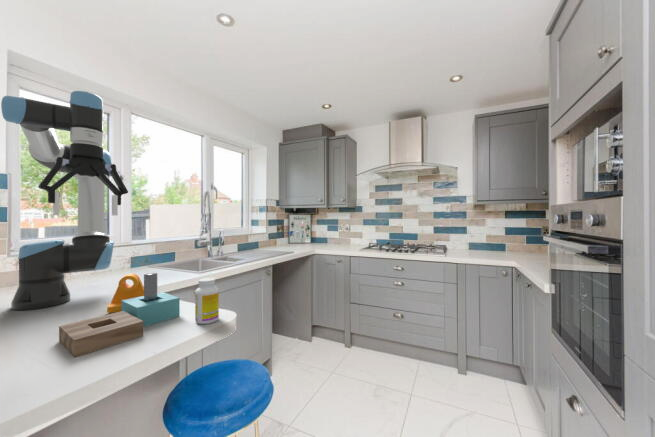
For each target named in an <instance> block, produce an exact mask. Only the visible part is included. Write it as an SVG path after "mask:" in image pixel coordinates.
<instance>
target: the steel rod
mask: <svg viewBox="0 0 655 437" xmlns="http://www.w3.org/2000/svg"><path fill="white" fill-rule="evenodd" d="M143 286H144V302H145V303H146V302H150V301H155V300H157V293H158V273H157V272H150V273H144V274H143Z"/></svg>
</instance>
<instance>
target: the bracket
mask: <svg viewBox="0 0 655 437" xmlns="http://www.w3.org/2000/svg"><path fill="white" fill-rule="evenodd" d="M127 280H130V281H131V282H133V284H131V285H130V284H128V283H127ZM141 296H144V283H143V282H142V281H141V278H140V276H139V275H137V274H136V273H128V274H125V275H124V276H123V277H122V278H121V279H120V280H119V281H118V286H117V289H116V290H115V293H114V295H113V297H112V300H111V302H110V303H109V304H108V305H107V307H106V312H107V314H112V313H117V312H121V300H126V299H131V298H136V297H141Z"/></svg>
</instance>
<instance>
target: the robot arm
mask: <svg viewBox="0 0 655 437" xmlns="http://www.w3.org/2000/svg"><path fill="white" fill-rule="evenodd" d="M69 97H70V98H69V99H70V100H69V106H66V105H60V104H56V103H51V102H45V101H40V100H35V99H31V98H26V97H23V96H21V97H18V96H13V95H4V96H3V97H2V98H1V104H0V105H1V106H0V107H1V115H2V117H3V119H4V120H5V122H8V123H13V124H15V125H19V126H20V128H21V131H22V132H23V134H24V136H25V138H26V140H27V142H28V144H29V145H28V152H29V154H30V156H31V157H32V158H33V160H34V161H35V162H37V163H38V164H41V165H42V166H44V167H46V168H48V169H49V171H48V173H47V174H46V175H45V177H44V178H43V179H42V181H41V182H40V183H39V184H38V186H37V187H38V188H39V189H41V190H44V191H46V192H47V202H48V203H49V204H52V215H53V216H59V215H60V192H59V191H56V190H57V189H59V188H60V187H61V186H63V185H64V184H65V183H66V182H68V181H69V180H70V179H72V178H74V179H76V180H77V234H76V235H74V236H73V237H72V238H71V240H72V241H71V242H65V240H64V239H56V240H54V239H53V240H46V241H45V240H43V241H37V242H33V243H27V244H24V245H21V246H20V247H19V250H18V257H17V260H18V287H17V289H16V292H15V294H14V295H13V298H12V300H11V304H10V306H11V310H13V311H27V310H29V311H30V310H38V309H44V308H50V307H53V306H58V305H62V304H64V303H68V302H69V301H70V300H71V291H70V290H69V288H68V286H67V283H66V281H65V274H72V273H80V272H81V273H82V272H93V271H94V272H97V271H101V270H106V269H109V268H110V267H111V264H112V258H113V250H114V244H115V243H114V242H115V241H113V240H110V236H109V235H107V234H106V224H105V223H106V217H105V216H106V214H105V213H106V212H105V209H106V208H105V205H106V204H105V200H106V198H105V191H106V190H105V186H106V187H107V188H108V189H109V190H110V191H111V192H112V193H113V194H114V195H111V216H118V214H119V212H118V211H119V210H118V208H119V206H121V205H122V196H123V195H126V194H128V193H129V190H128V189H127V187H126V185H125V184H124V182H123V180H122V178H121V176H120V175H119V172H118V171H117V166H116V164H115V163H113V162H112V157H111V154H110V152H109V151H108V150H106V149H104V148H103V147H104V109H105V108H104V101H103V99H102V98H101V97H100V96H99V95H97V94H95V93H93V92H92V93H91V92H89V91H84V90H74V91H72V92H70V96H69ZM55 130H58V131H65V132H70V134H69V136H70V138H69V139H70V141H69V142H70V143H71V144H70V145H69V144H63V143H62V144H61V143H59V141H58V138H57V135H56V132H55ZM58 172H59V173H66V174H64V175H63V176H62V177H61V178H59V179H58V180H56V181H55V183H53V184H52V185H49V184H50V183H51V181H52V180H53V179H54V177H55V176H56V175H57V173H58ZM110 177H111V178H112V179H113V181H114V183H115V184H116V185H115V184H114V183H113V182H112V180H110Z"/></svg>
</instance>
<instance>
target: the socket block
mask: <svg viewBox="0 0 655 437" xmlns="http://www.w3.org/2000/svg"><path fill="white" fill-rule="evenodd" d="M143 336H144V327H143V321H142V320H140V319H138V318H137V317H135V316H133V315H131V314H129V313H127V312H125V311H121V312H117V313H116V312H112V313H107V314H105V315H100V316H97V317H92V318H87V319H84V320H79V321H75V322H74V321H73V322H70V323H67V324H61V325H59V326H58V342H59V343H60V344H61V345H62V346H63V347H64V349H66V351H67V352H68V353H70V355H71V356H72V357H73V358H77V357H79V356H83V355H87V354H89V353H92V352H97V351H99V350H102V349H105V348H109V347H111V346H116V345H118V344H122V343H125V342H128V341H131V340H134V339H137V338H141V337H143Z"/></svg>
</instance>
